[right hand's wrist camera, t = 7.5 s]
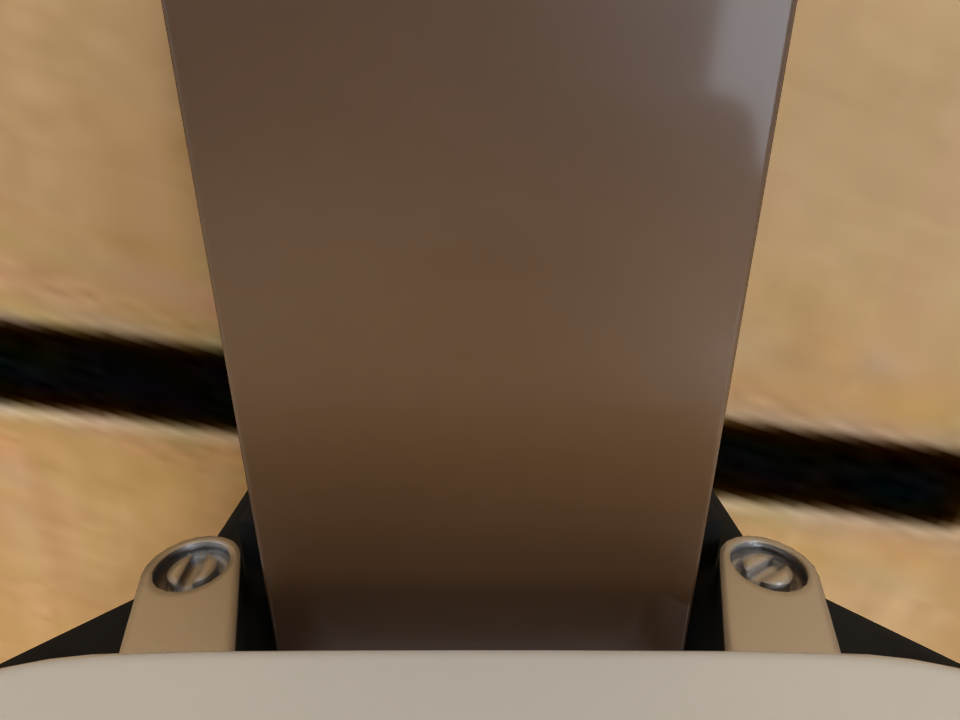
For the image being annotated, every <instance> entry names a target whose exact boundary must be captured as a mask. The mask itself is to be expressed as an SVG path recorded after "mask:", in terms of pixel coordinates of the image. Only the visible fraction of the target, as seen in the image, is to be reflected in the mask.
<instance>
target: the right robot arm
mask: <svg viewBox="0 0 960 720" xmlns="http://www.w3.org/2000/svg"><path fill="white" fill-rule="evenodd" d="M0 720H960V664H959V663H957V662H955V661H953V660H951V659H949V658H947V657H945V656H943V655H941V654H938V653H936V652H934V651H932V650H930V649H928V648H926V647H924V646H922V645H920V644H918V643H916V642H914V641H912V640H910V639H907V638H905V637H903V636H901V635H899V634H897V633H895V632H893V631H891V630H889V629H887V628H885V627H883V626H881V625H879V624H877V623H874V622H872V621H870V620H868V619H866V618H864V617H862V616H860V615H858V614H856V613H854V612H852V611H850V610H848V609H846V608H844V607H841V606H839V605H837V604H835V603H833V602H831V601H829V600H827V599H825V595H824V592H823V588H822V585H821V581H820V578H819V575H818V573H817V571H816V569H815V567H814V566H813V565H812V564H811V563H810V562H809V561H808V560H807V559H806V558H805V557H804V556H803V555H802V554H800V553H799V552H797V551H796V550H794V549H793V548H791V547H789V546H786V545H784V544H782V543H780V542H778V541H774V540H770V539H767V538H763V537H755V536H742V534H741V533H740V531H739V530H738V528H737V527H736V525H735V523H734V522H733V520H732V519H731V517H730V516H729V514H728V513H727V511H726V510H725V508H724V507H723V505H722V504H721V502H720V501H719V499H718V498H717V496H716V494H715V493H714V491H713V490H712V492H711V498H710V503H709V509H708V515H707V521H706V526H705V532H704V538H703V544H702V549H701V555H700V561H699V567H698V572H697V578H696V584H695V589H694V595H693V601H692V607H691V612H690V618H689V624H688V630H687V635H686V641H685V647H684V651H595V650H414V651H277V649H276V644H275V638H274V632H273V627H272V621H271V615H270V610H269V604H268V599H267V593H266V587H265V582H264V576H263V570H262V565H261V559H260V554H259V548H258V542H257V537H256V531H255V525H254V520H253V514H252V508H251V503H250V497H249V492H248V491H247V492H246V494H245V495H244V497H243V498H242V500H241V501H240V503H239V504H238V506H237V507H236V509H235V510H234V512H233V514H232V515H231V517H230V518H229V520H228V521H227V523H226V524H225V526H224V527H223V529H222V530H221V532H220V533H219V535H218V536H205V537H197V538H193V539H190V540H186V541H182V542H180V543H178V544H176V545H174V546H171V547H169V548H167V549H166V550H164V551H163V552H161V553H160V554H158V555H157V556H156V557H155V558H154V559H153V560H152V561H151V562H150V563H149V564H148V565H147V566H146V567H145V569H144V571H143V573H142V575H141V578H140V581H139V585H138V588H137V592H136V595H135V599H133V600H131V601H129V602H127V603H125V604H123V605H121V606H119V607H117V608H115V609H113V610H111V611H109V612H107V613H104V614H102V615H100V616H98V617H96V618H94V619H92V620H90V621H88V622H86V623H84V624H82V625H80V626H78V627H76V628H73V629H71V630H69V631H67V632H65V633H63V634H61V635H59V636H57V637H55V638H53V639H51V640H49V641H47V642H45V643H43V644H40V645H38V646H36V647H34V648H32V649H30V650H28V651H26V652H24V653H22V654H20V655H18V656H16V657H14V658H12V659H9V660H7V661H5V662H3V663H1V664H0Z"/></svg>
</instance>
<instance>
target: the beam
mask: <svg viewBox="0 0 960 720" xmlns="http://www.w3.org/2000/svg"><path fill="white" fill-rule="evenodd" d="M161 2H162V8H163V13H164V19H165V25H166V30H167V36H168V42H169V47H170V53H171V58H172V64H173V70H174V75H175V81H176V87H177V92H178V98H179V103H180V109H181V115H182V120H183V126H184V132H185V137H186V143H187V148H188V154H189V160H190V165H191V171H192V177H193V182H194V188H195V193H196V199H197V205H198V210H199V216H200V222H201V227H202V233H203V238H204V244H205V250H206V255H207V261H208V267H209V272H210V278H211V283H212V289H213V295H214V300H215V306H216V312H217V317H218V323H219V328H220V334H221V340H222V345H223V351H224V357H225V362H226V368H227V373H228V379H229V385H230V390H231V396H232V402H233V407H234V413H235V418H236V424H237V430H238V435H239V441H240V447H241V452H242V458H243V463H244V469H245V475H246V480H247V486H248V492H249V497H250V503H251V508H252V514H253V520H254V525H255V531H256V537H257V542H258V548H259V554H260V559H261V565H262V570H263V576H264V582H265V587H266V593H267V599H268V604H269V610H270V615H271V621H272V627H273V632H274V638H275V644H276V649H277V651H414V650H595V651H684V647H685V641H686V635H687V630H688V624H689V618H690V612H691V607H692V601H693V595H694V589H695V584H696V578H697V572H698V567H699V561H700V555H701V549H702V544H703V538H704V532H705V526H706V521H707V515H708V509H709V503H710V498H711V492H712V486H713V481H714V475H715V469H716V463H717V458H718V452H719V446H720V440H721V435H722V429H723V423H724V417H725V412H726V406H727V400H728V394H729V389H730V383H731V377H732V372H733V366H734V360H735V354H736V349H737V343H738V337H739V331H740V326H741V320H742V314H743V308H744V303H745V297H746V291H747V286H748V280H749V274H750V268H751V263H752V257H753V251H754V245H755V240H756V234H757V228H758V222H759V217H760V211H761V205H762V199H763V194H764V188H765V182H766V177H767V171H768V165H769V159H770V154H771V148H772V142H773V136H774V131H775V125H776V119H777V113H778V108H779V102H780V96H781V91H782V85H783V79H784V73H785V68H786V62H787V56H788V50H789V45H790V39H791V33H792V27H793V22H794V16H795V10H796V5H797V0H161Z"/></svg>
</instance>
